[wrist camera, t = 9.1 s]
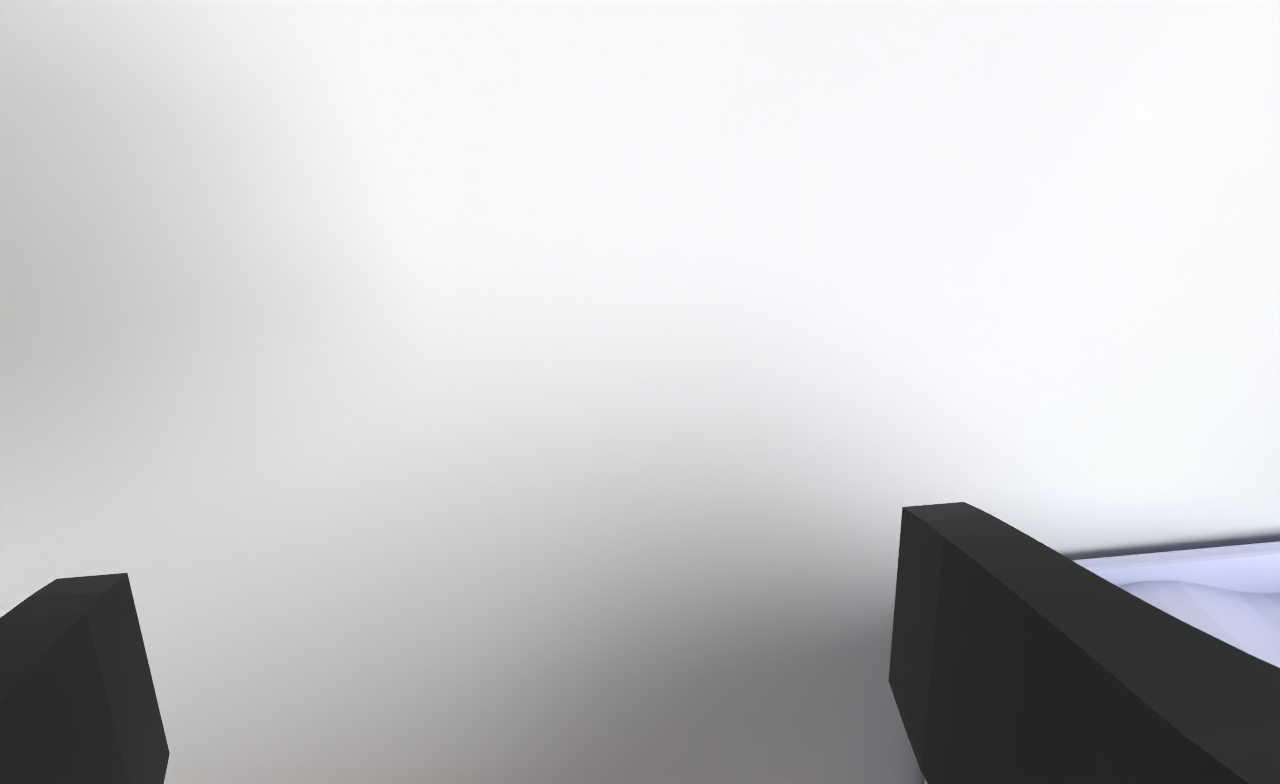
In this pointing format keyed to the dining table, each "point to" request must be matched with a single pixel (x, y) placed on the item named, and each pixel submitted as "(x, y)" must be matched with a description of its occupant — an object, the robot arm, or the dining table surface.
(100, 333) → the dining table surface
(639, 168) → the dining table surface
